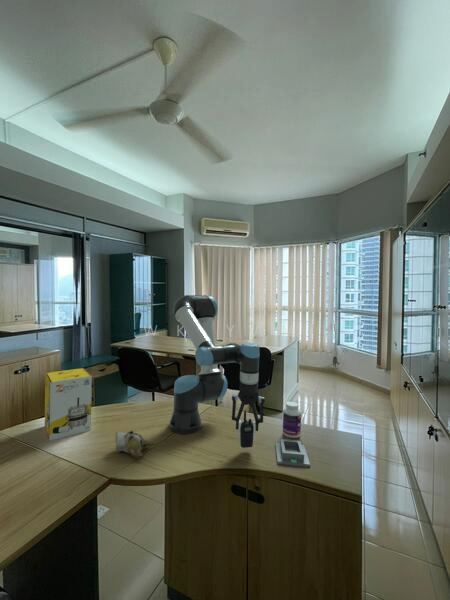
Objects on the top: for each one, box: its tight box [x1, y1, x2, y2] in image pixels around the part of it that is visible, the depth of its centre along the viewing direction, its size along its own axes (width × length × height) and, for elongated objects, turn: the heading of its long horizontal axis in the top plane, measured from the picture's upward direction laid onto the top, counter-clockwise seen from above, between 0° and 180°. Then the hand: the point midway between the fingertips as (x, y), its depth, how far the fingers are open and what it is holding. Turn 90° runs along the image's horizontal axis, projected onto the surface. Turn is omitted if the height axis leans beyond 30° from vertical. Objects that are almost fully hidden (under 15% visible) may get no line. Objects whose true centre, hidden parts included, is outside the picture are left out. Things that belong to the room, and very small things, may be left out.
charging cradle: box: [274, 439, 311, 468], centre depth 115 cm, size 12×14×4 cm
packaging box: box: [44, 367, 93, 442], centre depth 131 cm, size 16×16×25 cm
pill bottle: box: [282, 401, 302, 439], centre depth 131 cm, size 8×8×14 cm
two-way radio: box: [239, 410, 254, 449], centre depth 117 cm, size 6×4×15 cm
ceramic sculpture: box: [114, 430, 155, 459], centre depth 114 cm, size 11×9×15 cm
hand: (246, 437), depth 117 cm, fingers closed on two-way radio, 5 cm apart
